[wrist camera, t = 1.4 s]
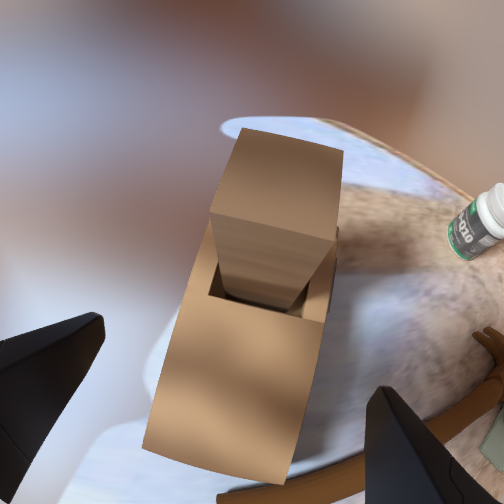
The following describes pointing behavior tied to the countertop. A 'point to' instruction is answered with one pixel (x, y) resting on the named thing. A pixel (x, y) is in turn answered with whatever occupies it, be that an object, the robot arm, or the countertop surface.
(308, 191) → the brown wooden block
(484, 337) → the hammer
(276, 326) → the slotted wooden slab
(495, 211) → the pill bottle
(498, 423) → the rubber mat
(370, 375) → the countertop surface
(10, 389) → the robot arm
